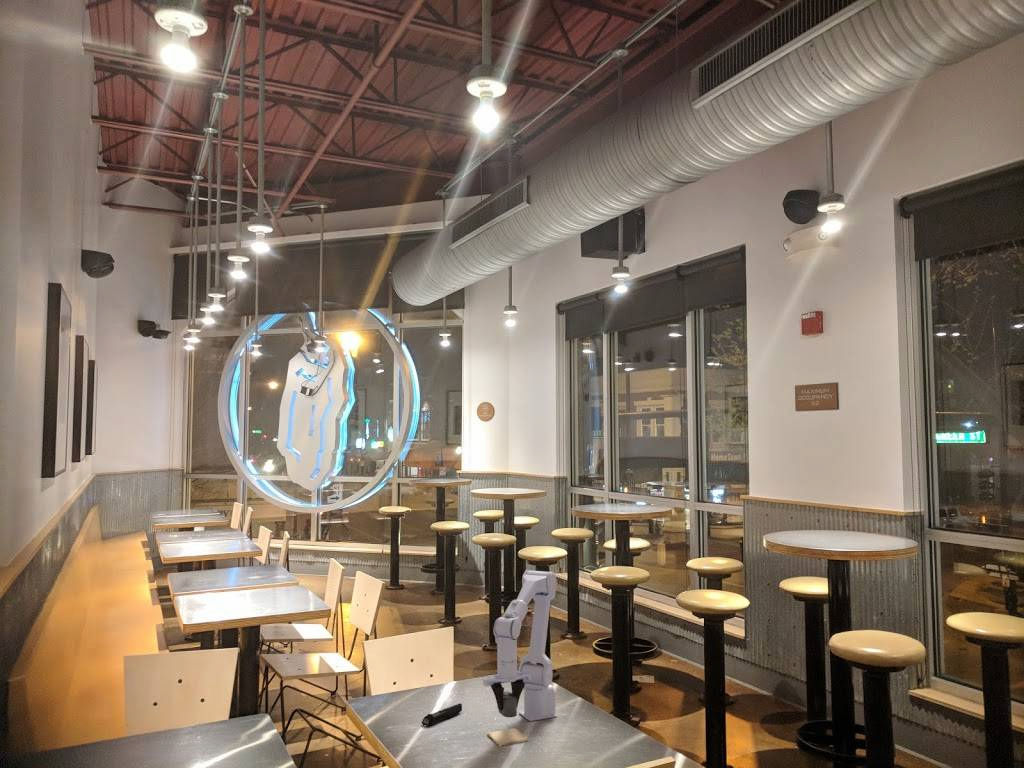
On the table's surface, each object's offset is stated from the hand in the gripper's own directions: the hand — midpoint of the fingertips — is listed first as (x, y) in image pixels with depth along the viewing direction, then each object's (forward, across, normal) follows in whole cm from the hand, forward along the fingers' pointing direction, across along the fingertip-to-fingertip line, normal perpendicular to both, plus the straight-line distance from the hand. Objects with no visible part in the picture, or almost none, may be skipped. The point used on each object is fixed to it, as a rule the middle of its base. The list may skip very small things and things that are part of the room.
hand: (507, 708), depth 217 cm
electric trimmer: (+9, -12, +22) cm, 27 cm away
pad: (+8, 0, 0) cm, 8 cm away
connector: (+1, 0, 0) cm, 1 cm away
